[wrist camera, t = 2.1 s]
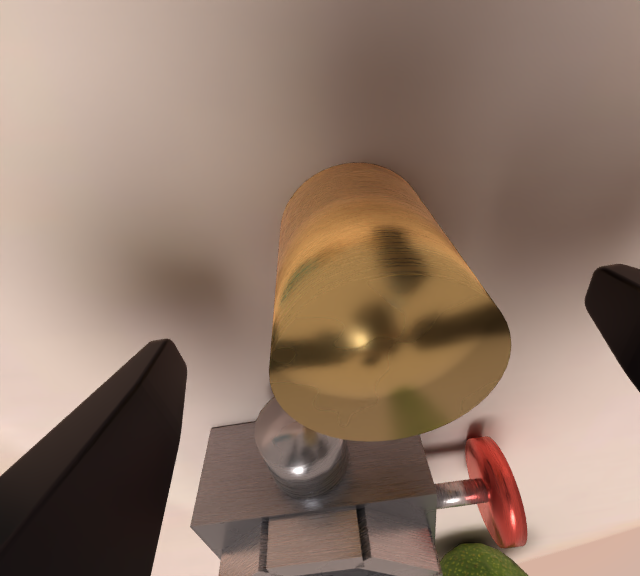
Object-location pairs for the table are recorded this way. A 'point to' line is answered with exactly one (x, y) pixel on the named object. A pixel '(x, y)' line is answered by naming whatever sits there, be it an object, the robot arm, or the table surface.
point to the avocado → (478, 562)
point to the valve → (339, 501)
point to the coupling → (377, 312)
